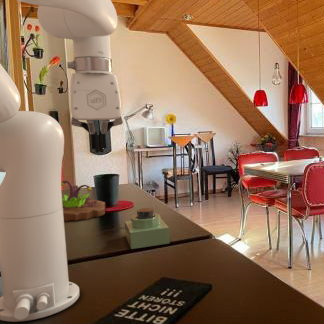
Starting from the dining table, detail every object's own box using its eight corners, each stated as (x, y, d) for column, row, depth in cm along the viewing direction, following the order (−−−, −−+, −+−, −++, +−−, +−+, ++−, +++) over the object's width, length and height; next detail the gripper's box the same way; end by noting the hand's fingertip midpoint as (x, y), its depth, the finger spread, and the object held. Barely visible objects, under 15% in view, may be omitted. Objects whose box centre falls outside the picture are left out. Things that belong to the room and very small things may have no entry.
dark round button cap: (155, 218, 95) (155, 210, 95) (138, 220, 93) (138, 212, 93) (152, 215, 99) (152, 207, 98) (136, 217, 97) (135, 209, 97)
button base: (169, 243, 94) (168, 219, 93) (131, 249, 90) (129, 224, 89) (160, 231, 104) (159, 209, 103) (125, 236, 100) (124, 213, 99)
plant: (44, 210, 131) (41, 177, 130) (105, 204, 138) (103, 173, 136) (33, 225, 113) (29, 187, 111) (104, 218, 119) (102, 182, 118)
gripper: (54, 64, 78) (61, 155, 80) (131, 67, 84) (136, 151, 86) (56, 69, 85) (62, 152, 87) (127, 71, 91) (131, 149, 93)
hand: (99, 151), depth 86 cm, fingers closed
